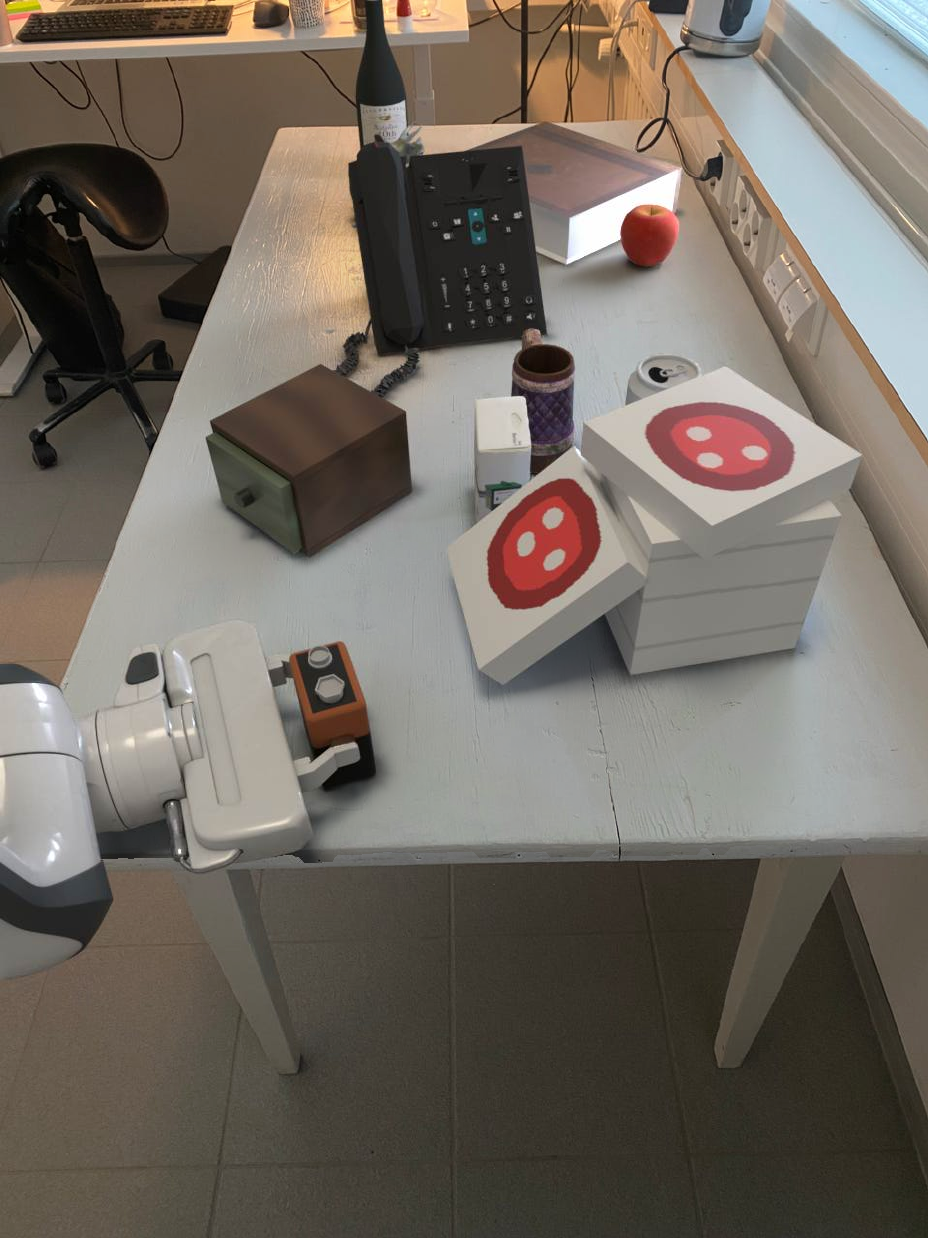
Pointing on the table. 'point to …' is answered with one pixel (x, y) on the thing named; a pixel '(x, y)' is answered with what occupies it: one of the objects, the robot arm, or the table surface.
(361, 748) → the battery
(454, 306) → the office phone
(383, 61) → the wine bottle
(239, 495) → the drawer
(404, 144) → the toy dinosaur
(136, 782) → the robot arm
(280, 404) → the cabinet
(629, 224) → the apple
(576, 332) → the table surface
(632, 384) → the can
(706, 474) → the pizza boxes
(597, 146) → the book
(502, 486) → the ink box
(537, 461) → the mug
